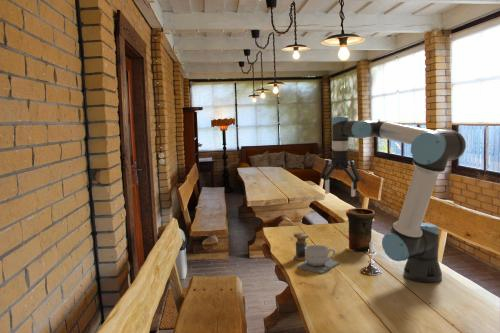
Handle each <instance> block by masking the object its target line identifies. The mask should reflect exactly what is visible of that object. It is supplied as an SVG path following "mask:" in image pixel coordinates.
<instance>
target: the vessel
mask: <svg viewBox="0 0 500 333" xmlns="http://www.w3.org/2000/svg"><path fill="white" fill-rule="evenodd" d="M345 215H346V217H347V221H348V245H347V246H346V250H348V251H352V252H356V253H369V252H368V249H369V243H370V242H371V243H372V227H373V220H374V218H375V216H376V213H375V211H374V210H372V209H368V208H361V207H356V208H349V209H347V210H346V212H345Z"/></svg>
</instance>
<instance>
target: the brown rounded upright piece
mask: <svg viewBox="0 0 500 333" xmlns="http://www.w3.org/2000/svg"><path fill="white" fill-rule="evenodd" d="M293 237H294V238H295V239H296V241H295V255H294V256H293V259H294V260H296V261H300V262H306V259H305V247H306V246H307V245H308V244H307V241H306V239H308V238H309V233H306V232H295V233H293Z"/></svg>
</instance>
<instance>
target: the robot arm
mask: <svg viewBox="0 0 500 333" xmlns="http://www.w3.org/2000/svg"><path fill="white" fill-rule="evenodd" d="M373 137H374V138H380V139H385V140H388V141H392V142H397V143H398V142H399V143H402V144H406V145H411V146H410V154H411V157H412V158H413V159H412V164H413V166H414V170H413V173H412V177H411V180H410V183H409V186H408V188H407V189H408V190H407V192H406V195H405V199H404V202H403V204H402V207H401V211H400V215H399V217H398V220H397V221H394V222H393V223H392V226H391V229H390V232H388V233H386V234H384V236H382V239H381V246H382V249H383V251H384V253H385V255H386V257H388V259H390V260H393V261H395V262H401V261H402V262H403V261H404V262H405V261H406V263H405V265H404V267H403V276H404V277H405V278H406V279H409V280H411V281H413V282H416V283H424V284H427V283H428V284H429V283H430V284H431V283H432V284H433V282H434V283H438V282H440V281H442V279H443V272H442V268H441V266H440V263H439V239H440V238H439V237H440V231H439V227H438V226H437V225H436V224H433V223H428V222H424V218H425V216H426V212H427V209H428V207H429V203H430V200H431V197H432V195H433V191H434V189H435V186H436V183H437V180H438V177H439V174H441V173H444V172H445V171H446V168H447V164H448V162H451V161H455V160H457V159H459V158H460V157H461V156H462V155H463V154H464V153H465V151H466V148H467V143H466V140H465V137H464V136H463V135H462V133H460V132H458V131H456V130H451V129H450V130H449V129H440V128H438V129H435V130H432V129H426V128H422V127H421V128H420V127H415V126H409V125H404V124H399V123H395V122H389V121H387V120H385V119H373V120H370V119H369V120H349V117H348V116H334V117H332V121H331V149H332V150H331V159H330V158H329V159H326V160H325V165H324V167H323V168H322V170H321V171H322V172H321V173H320V176H319V178H320V179H322V180H323V187H324V189H325V190H324V194H325V195H326V194H330V179H329V178H330V177H331V176H332V174H333V173H334V172H335V171H344V172H345V174H346V175H347V176H348V178H349V179H350V180H351V181H352V182H351V186H350V188H351V191H350V196H351V197H356V190H357V189H358V182H361V181H362V178H361V176H360V173H359V170H358V169H357V166H356V161H355V160H349V150H348V149H349V138H354V139H355V138H356V139H366V138H373ZM330 165H332V166H331V167H330ZM349 166H350V167H349ZM329 168H330V169H329ZM439 280H440V281H439ZM437 281H438V282H437Z"/></svg>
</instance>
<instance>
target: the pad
mask: <svg viewBox="0 0 500 333" xmlns="http://www.w3.org/2000/svg"><path fill="white" fill-rule="evenodd" d="M339 265H340V261H337V260H336V261H335V260H331V259H329V261H327V262H326V263H325V264H324V265H322V266H312V265H310V264H309V263H308V262H307V261H303V263H300V264H299V265H297V266H296V267H297V269H300V270H305V271H308V272H311V273H316V274H320V275H323V274H325V273H327V272H328V271H330V270H333V268H335V267H336V266H339Z"/></svg>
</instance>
